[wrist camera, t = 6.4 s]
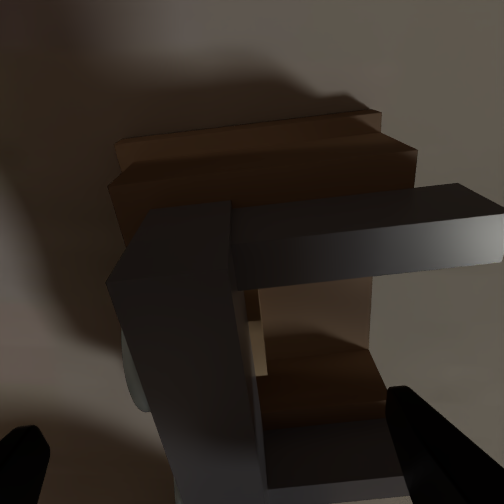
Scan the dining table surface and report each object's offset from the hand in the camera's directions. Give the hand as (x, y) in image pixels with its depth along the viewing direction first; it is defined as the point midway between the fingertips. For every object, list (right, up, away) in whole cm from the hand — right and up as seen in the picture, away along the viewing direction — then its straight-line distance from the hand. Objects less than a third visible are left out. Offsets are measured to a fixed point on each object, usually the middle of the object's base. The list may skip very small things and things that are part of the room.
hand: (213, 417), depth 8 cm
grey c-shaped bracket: (+2, +1, +2) cm, 3 cm away
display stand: (+1, +2, +4) cm, 5 cm away
